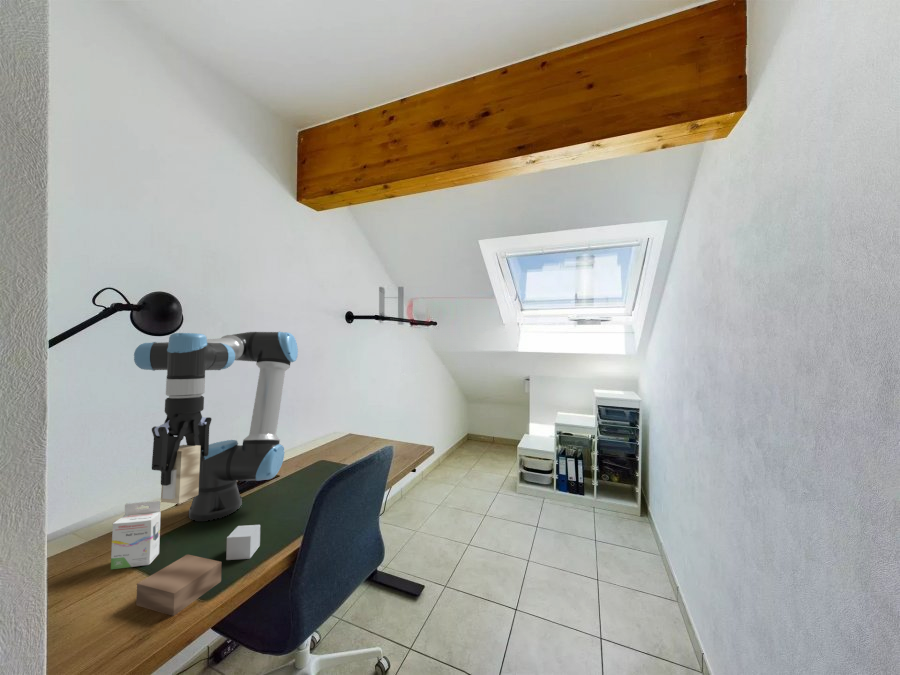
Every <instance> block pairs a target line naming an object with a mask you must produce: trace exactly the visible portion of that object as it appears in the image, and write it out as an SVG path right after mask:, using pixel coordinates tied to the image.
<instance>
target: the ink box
mask: <svg viewBox="0 0 900 675" xmlns="http://www.w3.org/2000/svg"><path fill="white" fill-rule="evenodd" d="M142 506H144V508H138V507H142ZM145 507H146V508H145ZM161 515H162V513H161V500H153V501H140V502H129V503H125V504H124V515H123V516H121V517H120V518H119V519H117V520H116V521H114V522H113V523H112V531H111V532H112V533H111V534H112V536H111V554H110V570H119V569H126V568H133V567H134V568H135V567H140V566H142V567H143V566H149V565H151V563H153V561H154V560H155V559H156V558H157V557H158V556H159V555H160V538H161V535H160V534H161Z"/></svg>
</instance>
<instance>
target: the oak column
mask: <svg viewBox="0 0 900 675" xmlns="http://www.w3.org/2000/svg"><path fill="white" fill-rule="evenodd" d="M200 449H201V446H198V445H196V446H191V445H187V444H180V446H179V449H178V451H177V457H176V460H175V464H174V468H173V469H177V474H176V493H175V498H174V499H163V498H162V494H163V485H161V491H160V492H161V494H160V503H167V504H168V503H169V504H178V505H179V504H182V503H184V502H186V501H188V500H191V499H193V498H194V497H195V496H197V495H198V492H199V470H200ZM167 465H168V464H167Z"/></svg>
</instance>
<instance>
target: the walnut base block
mask: <svg viewBox="0 0 900 675" xmlns="http://www.w3.org/2000/svg"><path fill="white" fill-rule="evenodd" d="M222 565H223V564H222V561H219V560H215V559H210V558H206V557H201V556H197V555H192V554H189V553H187V554H185V555H183V556H182V557H181V558H178V559H177V560H175V561H173V562H171V563H170V564H168V565H166V566H165V567H163V568H161V569H160V570H158V571H156V572H154V573H153V574H150V576H148V577H146V578H144V579H142V580H140V581H139V582H137V583H136V600H135V601H136V605H135V606H137V607H142V608H144V609H146V610H147V609H148V610H151V611H155V612H158V613H162V614H166V615H169V616H173V617H174V616H176V615H177V614H178V613H180V612H182V611H183V610H184V609H185V608H187V607H188V606H190V605H191V604H192V603H194V602H195V601H196V600H198V599H199V598H200V597H202V596H204V595H205V594H206V593H207V592H209V591H210V590H211V589H213V588H214V587H215V586H217V585H218V584H220V583H221V582H222Z"/></svg>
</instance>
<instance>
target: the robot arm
mask: <svg viewBox="0 0 900 675" xmlns="http://www.w3.org/2000/svg"><path fill="white" fill-rule="evenodd" d="M133 353H134V354H133V356H134V357H133V361H134V364H135V365H136V367H138V368H139V369H141V370H146V371H147V370H149V371H154V372H155V371H167V372H166V378H165V379H166V380H165V382H166V383H165V396H168V397H166V398H165V399H164V413H165V415H166V418H165V420H164V422H163V424H160V425H158V426H153V427H152V428H151V433H152V436H153V444H152V457H151V458H152V459H151V470H152V471H160V474H161V475H160V486H162V485H163V494H162V498H163V499H174V498H175V493H176V474H177V469H173V468H174V464H175V460H176V457H177V451H178V449H179V446H181V442H182V440H184V437H185V442H186V445H191V446H196V445H198V446H201V449H200V470H199V492H198V495H197V496H195V497H193V498H192V502H191V505H190V507H189V509H188V519H189V518H190V520H191V519H192V520H191V521H193V520H195V521H194V522H208V520H210V521H214V520H213V519H215V520H218V519H217V518H219V519H223V518H225V517H224V516H226V517H228V516H230V515H229V514H231V513H233V512H234V511H236V510H237V509H239V508H240V506H241V505H243V501H242V500H243V499H242V496H241V495H240V492H239V488H238V484H237V481H238V482H239V481H240V482H241V481H257V482H259V481H264V480H271V479H273V478H275V476H277V474H278V473H279V471H280V470H281V467H282V465H283V463H284V458H285V447H284V445H282V444H280V442H281V439H280V438H279V437H278V436H277V432H278V431H277V429H278V424H279V415H280V409H281V401H282V395H283V389H284V388H283V387H284V382H285V375H286V374H285V373H286V371H287V370H289V369H290V368H291V363H293V362H296V361H297V359H298V355H299V354H298V353H299V349H298V343H297V340H296V337H295V336H294V335H293V333H291V332H283V331H275V332H274V331H248V332H241V333H233V334H226V335H223V336H222V337H219V338H207V335H205V334H204V333H194V332H174V333H171V334H170V335H169V337H168V342H167V341H166V342H165V341H164V342H158V341H157V342H156V341H153V342H152V341H151V342H143V343H140V344H139V345H138V346H137V347H136V348H135V350H134V352H133ZM235 361H241V362H256V366H257V367H258V368H259V373H258V374H259V375H258V380H257V386H256V392H255V398H254V402H253V403H254V404H253V410H252V416H251V420H250V421H251V422H250V426H249V433H248V435H247V436H246V437H244V438H243V439H242V445H240V444H239V442H238V440H237V439H230V440H229V439H228V440H222V441H218V442H213V443H210V426H211V423H212V420H213V419H212V417H209V416H206V417H204V416H203V415H202V411H204V409H205V408H204V407H205V405H204V404H205V397H204V396H203V395H204V394H205V383H206V371H221V370H226V369H229V367H231V366H232V365H233V364H234V362H235ZM209 443H210V444H209ZM167 464H168V465H167ZM241 507H242V506H241ZM240 509H241V508H240ZM240 509H239V510H240ZM236 512H237V511H236ZM233 514H234V513H233ZM227 515H228V516H227ZM231 515H232V514H231ZM222 517H223V518H222Z"/></svg>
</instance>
